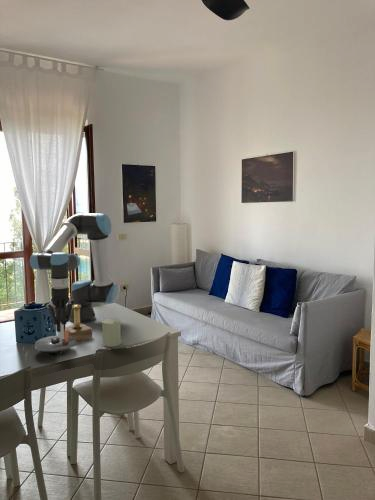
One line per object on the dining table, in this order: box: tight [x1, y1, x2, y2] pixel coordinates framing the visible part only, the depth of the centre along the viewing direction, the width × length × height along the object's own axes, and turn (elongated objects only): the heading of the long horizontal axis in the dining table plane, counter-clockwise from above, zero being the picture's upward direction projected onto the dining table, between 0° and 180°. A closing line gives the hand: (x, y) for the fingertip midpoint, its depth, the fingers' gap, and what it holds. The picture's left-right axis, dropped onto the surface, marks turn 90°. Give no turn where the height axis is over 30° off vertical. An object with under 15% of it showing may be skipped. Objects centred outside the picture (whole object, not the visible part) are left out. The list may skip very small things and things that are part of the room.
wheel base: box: [48, 351, 63, 355], centre depth 191 cm, size 6×6×3 cm
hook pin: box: [72, 304, 81, 330], centre depth 210 cm, size 4×4×17 cm
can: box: [101, 318, 122, 348], centre depth 202 cm, size 9×9×12 cm
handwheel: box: [34, 329, 76, 353], centre depth 190 cm, size 18×18×8 cm
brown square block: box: [65, 323, 93, 343], centre depth 211 cm, size 11×11×5 cm
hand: (61, 338), depth 185 cm, fingers closed
